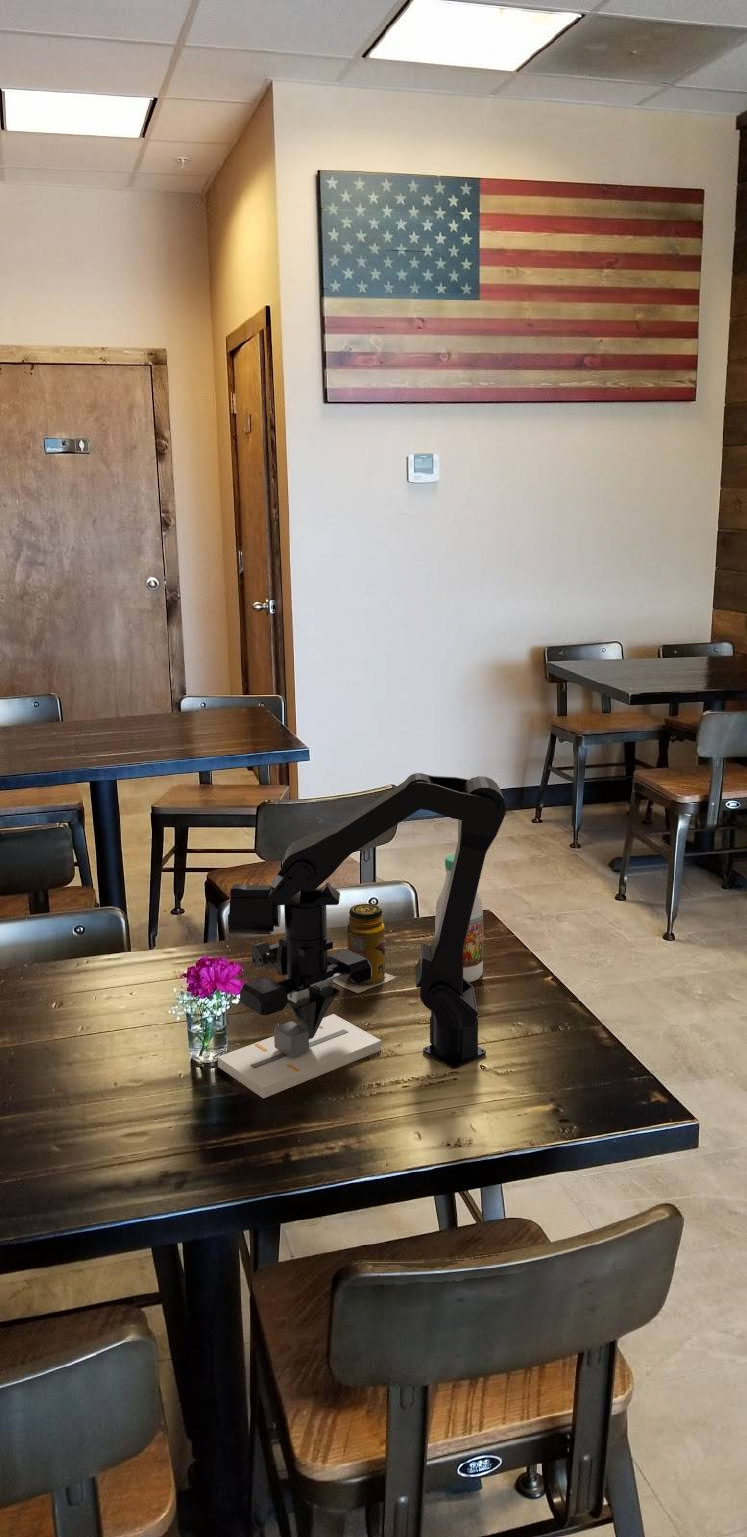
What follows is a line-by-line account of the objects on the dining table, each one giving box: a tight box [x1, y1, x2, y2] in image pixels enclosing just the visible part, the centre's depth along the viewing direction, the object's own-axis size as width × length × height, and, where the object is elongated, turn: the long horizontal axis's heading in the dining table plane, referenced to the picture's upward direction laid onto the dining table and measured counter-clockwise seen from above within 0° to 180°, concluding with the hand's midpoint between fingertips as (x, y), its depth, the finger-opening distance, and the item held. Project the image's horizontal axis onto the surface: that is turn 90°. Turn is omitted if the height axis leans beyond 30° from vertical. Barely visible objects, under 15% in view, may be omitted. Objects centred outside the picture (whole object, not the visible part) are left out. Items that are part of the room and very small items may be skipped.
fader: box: [273, 1020, 309, 1058], centre depth 155 cm, size 4×3×3 cm
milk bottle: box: [434, 853, 484, 983], centre depth 181 cm, size 8×8×20 cm
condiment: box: [333, 903, 397, 994], centre depth 181 cm, size 7×8×12 cm
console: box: [217, 1013, 382, 1099], centre depth 157 cm, size 11×20×2 cm, turn 129°
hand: (308, 1037), depth 157 cm, fingers closed
